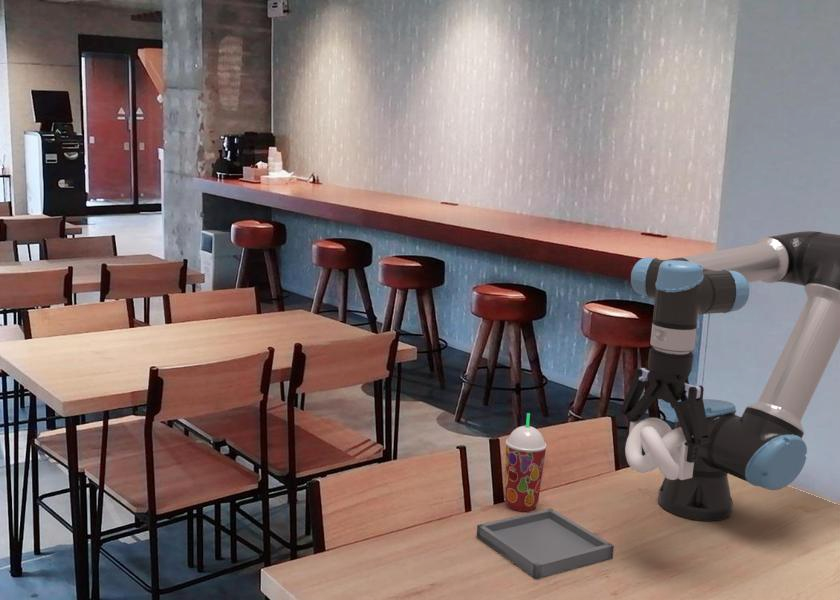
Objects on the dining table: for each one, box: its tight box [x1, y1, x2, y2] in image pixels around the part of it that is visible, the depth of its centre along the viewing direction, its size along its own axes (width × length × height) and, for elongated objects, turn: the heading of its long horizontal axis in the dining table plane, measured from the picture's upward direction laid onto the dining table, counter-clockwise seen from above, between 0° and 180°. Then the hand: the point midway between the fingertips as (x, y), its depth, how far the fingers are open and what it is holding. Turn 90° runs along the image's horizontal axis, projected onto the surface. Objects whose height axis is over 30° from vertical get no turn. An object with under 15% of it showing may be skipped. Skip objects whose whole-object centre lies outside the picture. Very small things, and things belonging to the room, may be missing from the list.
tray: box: [476, 508, 615, 580], centre depth 169 cm, size 18×18×2 cm
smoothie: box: [504, 412, 548, 512], centre depth 186 cm, size 8×8×20 cm
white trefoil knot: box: [624, 417, 693, 480], centre depth 162 cm, size 11×12×9 cm
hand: (658, 466), depth 163 cm, fingers closed on white trefoil knot, 12 cm apart
